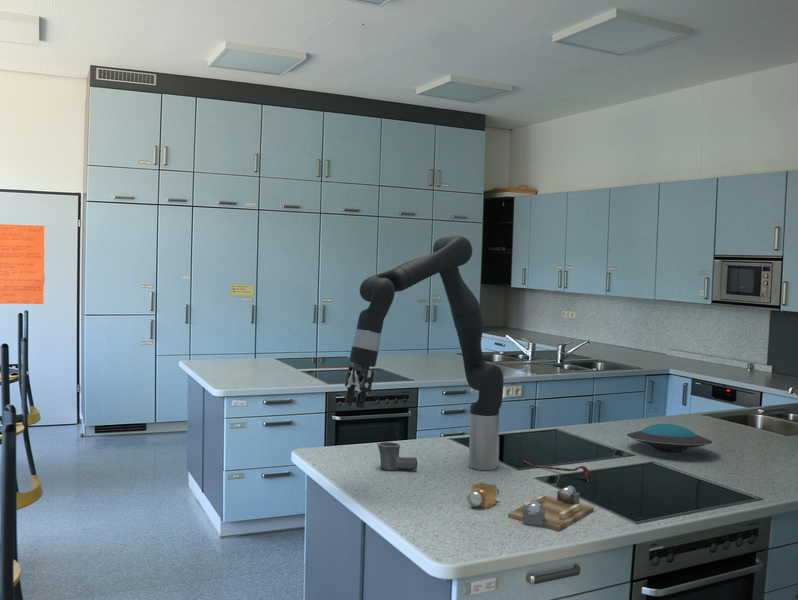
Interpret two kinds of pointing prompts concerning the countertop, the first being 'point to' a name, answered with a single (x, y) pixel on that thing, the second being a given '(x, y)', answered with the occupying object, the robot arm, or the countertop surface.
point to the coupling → (483, 495)
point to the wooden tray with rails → (555, 512)
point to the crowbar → (568, 470)
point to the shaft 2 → (568, 495)
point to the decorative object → (669, 438)
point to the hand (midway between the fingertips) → (353, 405)
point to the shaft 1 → (534, 514)
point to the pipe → (394, 457)
